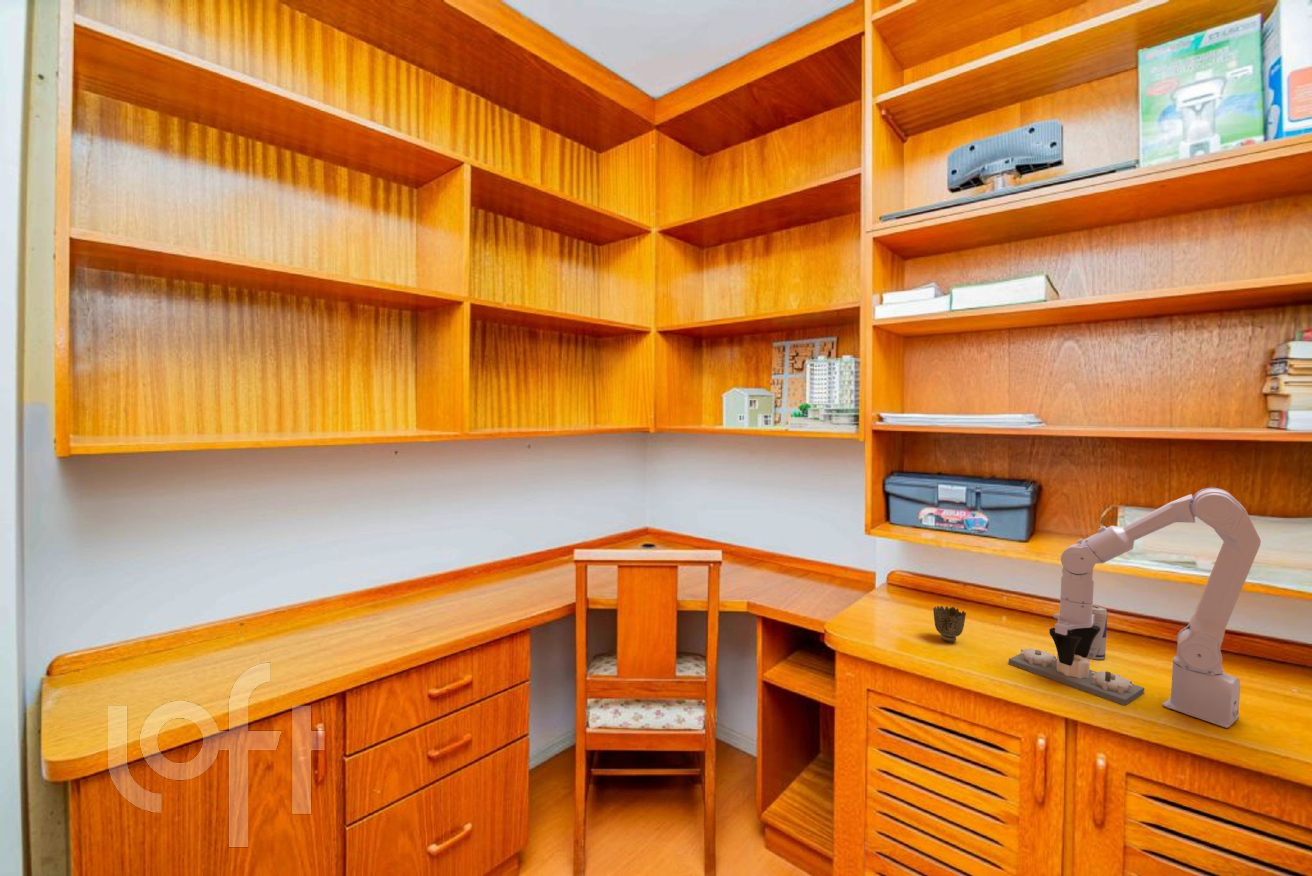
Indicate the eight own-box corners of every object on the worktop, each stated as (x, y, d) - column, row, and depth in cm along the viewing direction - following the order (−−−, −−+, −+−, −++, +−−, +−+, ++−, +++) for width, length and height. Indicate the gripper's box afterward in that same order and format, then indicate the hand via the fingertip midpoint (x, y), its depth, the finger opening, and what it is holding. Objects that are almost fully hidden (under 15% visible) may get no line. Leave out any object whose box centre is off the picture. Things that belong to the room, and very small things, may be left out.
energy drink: (1106, 655, 137) (1109, 607, 137) (1103, 662, 133) (1105, 612, 133) (1079, 649, 141) (1081, 601, 140) (1075, 655, 137) (1077, 606, 137)
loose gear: (1094, 674, 124) (1094, 660, 124) (1082, 680, 121) (1083, 666, 121) (1063, 664, 129) (1064, 650, 129) (1051, 670, 126) (1052, 656, 126)
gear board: (1143, 693, 118) (1145, 672, 118) (1125, 705, 113) (1126, 683, 113) (1029, 654, 137) (1030, 636, 137) (1008, 663, 131) (1009, 644, 131)
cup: (971, 645, 142) (972, 614, 141) (946, 647, 140) (947, 616, 140) (950, 634, 149) (951, 604, 149) (925, 636, 147) (927, 605, 147)
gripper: (1070, 589, 131) (1067, 646, 132) (1040, 599, 124) (1037, 660, 124) (1106, 598, 125) (1103, 657, 126) (1078, 609, 118) (1074, 672, 118)
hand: (1073, 659), depth 125 cm, fingers open, 7 cm apart
